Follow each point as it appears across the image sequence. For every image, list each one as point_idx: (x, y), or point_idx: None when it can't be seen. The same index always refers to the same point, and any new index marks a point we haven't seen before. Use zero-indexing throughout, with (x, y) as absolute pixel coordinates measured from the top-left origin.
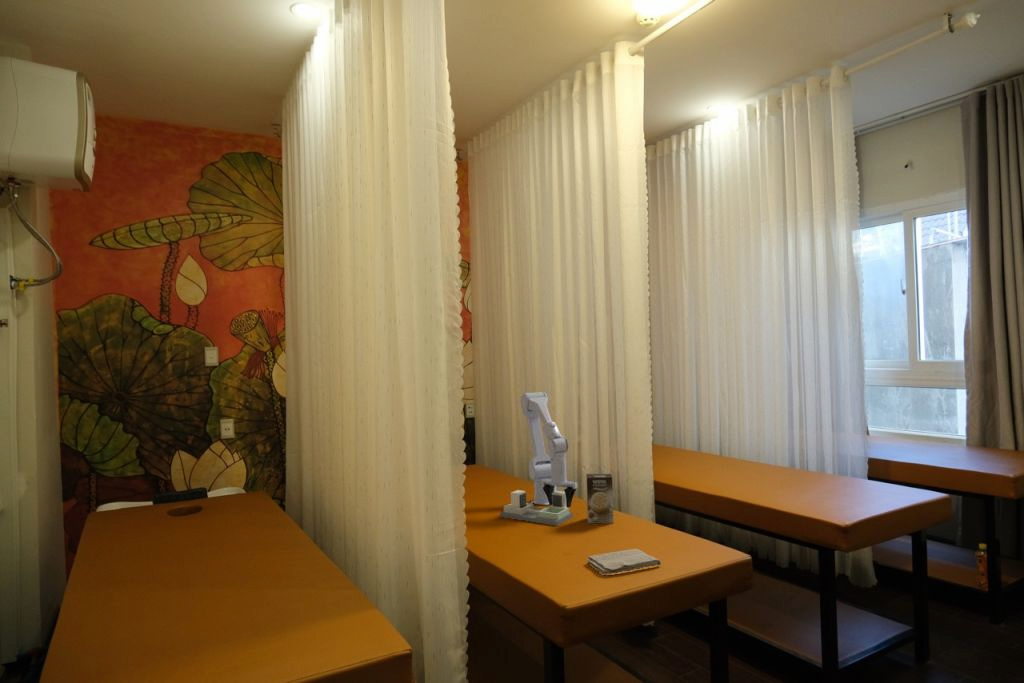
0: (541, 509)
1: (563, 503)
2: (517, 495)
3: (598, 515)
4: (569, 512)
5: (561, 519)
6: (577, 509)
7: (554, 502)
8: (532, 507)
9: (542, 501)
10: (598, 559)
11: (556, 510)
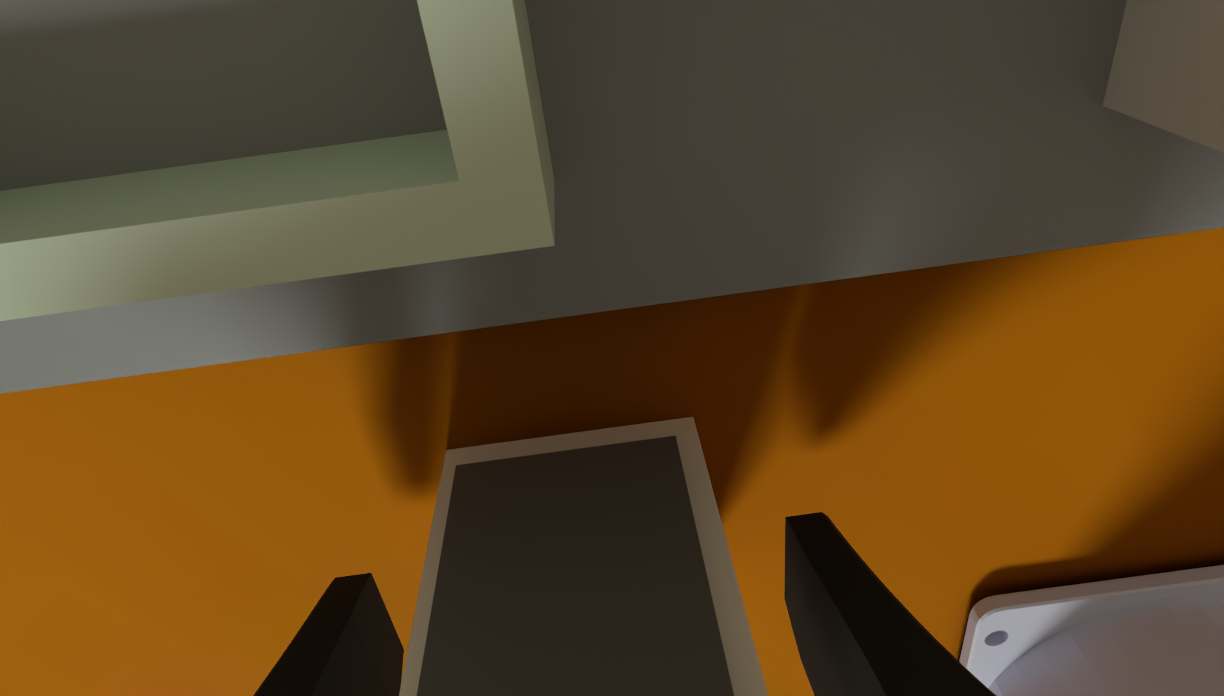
0: (869, 199)
1: (423, 622)
2: None
3: None
4: (50, 373)
5: None
6: None
7: (645, 557)
8: (1170, 44)
9: (1113, 642)
10: None
11: (241, 181)
